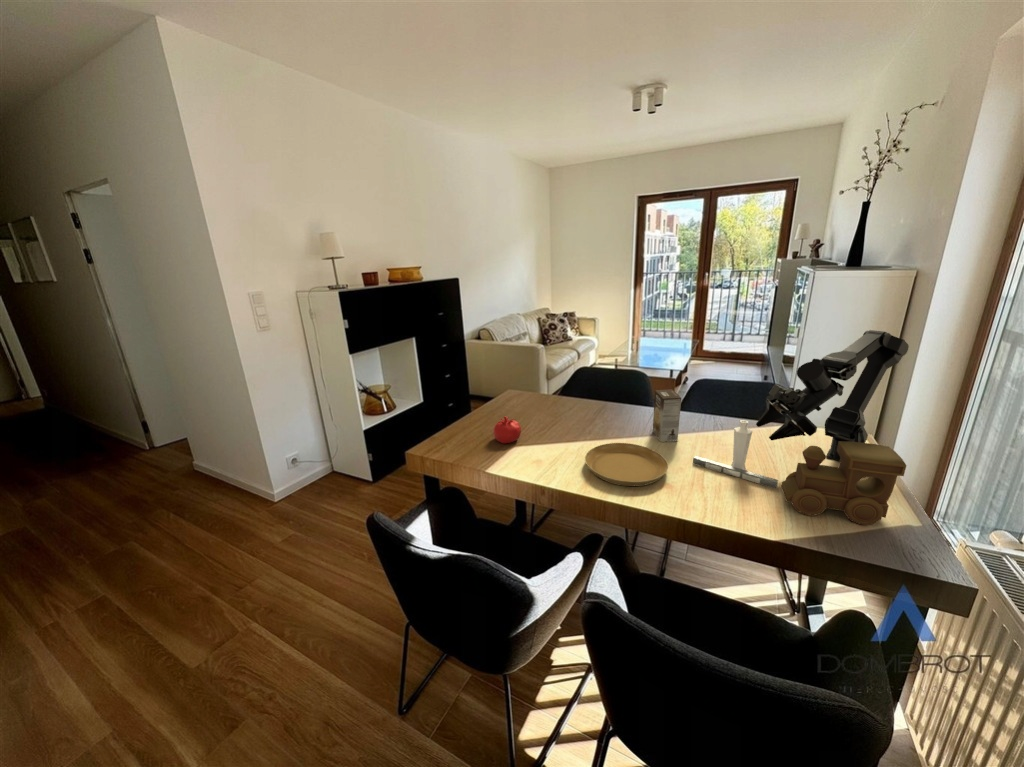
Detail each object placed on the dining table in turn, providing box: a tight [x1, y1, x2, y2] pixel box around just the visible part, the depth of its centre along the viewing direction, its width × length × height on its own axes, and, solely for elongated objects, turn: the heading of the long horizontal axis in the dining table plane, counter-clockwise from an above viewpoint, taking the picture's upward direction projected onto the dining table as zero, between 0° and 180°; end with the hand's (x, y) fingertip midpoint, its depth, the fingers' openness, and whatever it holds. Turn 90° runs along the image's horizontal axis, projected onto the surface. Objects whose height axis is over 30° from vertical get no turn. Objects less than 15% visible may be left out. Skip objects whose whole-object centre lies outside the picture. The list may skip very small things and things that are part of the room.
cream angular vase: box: [730, 419, 753, 470], centre depth 117 cm, size 5×4×15 cm
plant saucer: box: [584, 442, 669, 487], centre depth 122 cm, size 24×24×3 cm
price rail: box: [692, 455, 779, 490], centre depth 116 cm, size 2×22×2 cm, turn 45°
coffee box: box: [652, 388, 682, 442], centre depth 140 cm, size 9×6×16 cm
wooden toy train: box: [780, 441, 907, 526], centre depth 97 cm, size 20×11×17 cm, turn 66°
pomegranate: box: [493, 416, 522, 444], centre depth 145 cm, size 10×10×9 cm
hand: (763, 432), depth 115 cm, fingers open, 9 cm apart
